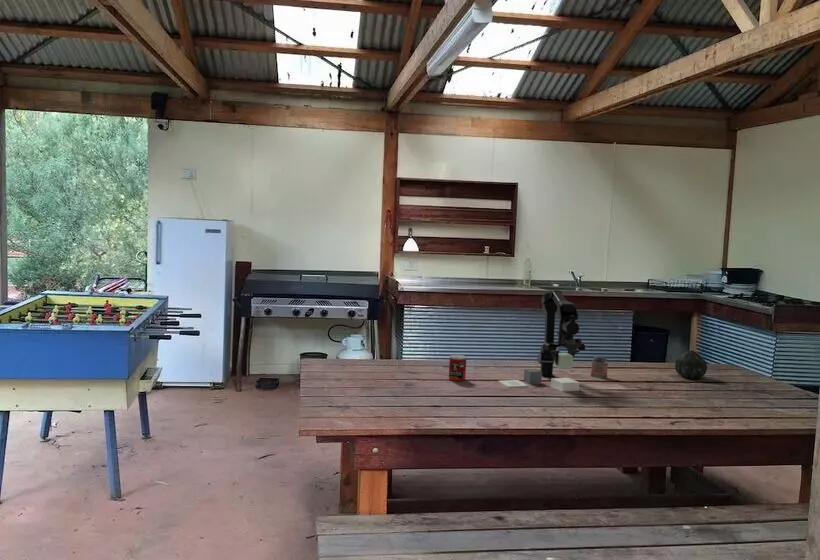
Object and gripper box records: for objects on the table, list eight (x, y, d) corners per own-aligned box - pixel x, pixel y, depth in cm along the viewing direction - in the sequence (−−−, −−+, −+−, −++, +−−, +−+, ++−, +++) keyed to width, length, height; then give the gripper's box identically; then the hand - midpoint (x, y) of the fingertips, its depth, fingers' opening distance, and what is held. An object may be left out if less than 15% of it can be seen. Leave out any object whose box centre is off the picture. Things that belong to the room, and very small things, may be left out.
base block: (550, 387, 294) (551, 378, 294) (567, 386, 297) (567, 377, 297) (562, 392, 286) (562, 383, 285) (579, 391, 289) (579, 382, 289)
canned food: (446, 380, 297) (447, 356, 296) (451, 376, 304) (452, 353, 303) (462, 382, 294) (463, 358, 293) (467, 378, 301) (468, 355, 300)
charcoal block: (523, 381, 302) (524, 368, 301) (535, 380, 304) (535, 368, 303) (529, 384, 296) (530, 371, 296) (541, 384, 298) (542, 371, 297)
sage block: (553, 365, 292) (554, 352, 292) (565, 365, 294) (566, 352, 293) (560, 369, 286) (561, 355, 286) (572, 368, 288) (573, 355, 287)
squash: (695, 362, 336) (682, 342, 331) (717, 370, 321) (704, 349, 317) (677, 381, 333) (663, 360, 329) (698, 389, 319) (684, 368, 315)
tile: (498, 381, 298) (498, 380, 298) (517, 381, 301) (518, 379, 301) (508, 387, 288) (508, 385, 288) (528, 386, 291) (528, 385, 291)
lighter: (589, 376, 318) (591, 356, 317) (591, 375, 321) (592, 355, 320) (606, 378, 314) (607, 358, 313) (607, 377, 317) (609, 357, 316)
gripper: (555, 334, 278) (553, 369, 280) (593, 334, 283) (590, 368, 285) (543, 329, 289) (541, 363, 290) (579, 329, 294) (577, 363, 296)
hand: (562, 365), depth 290 cm, fingers closed on sage block, 6 cm apart
